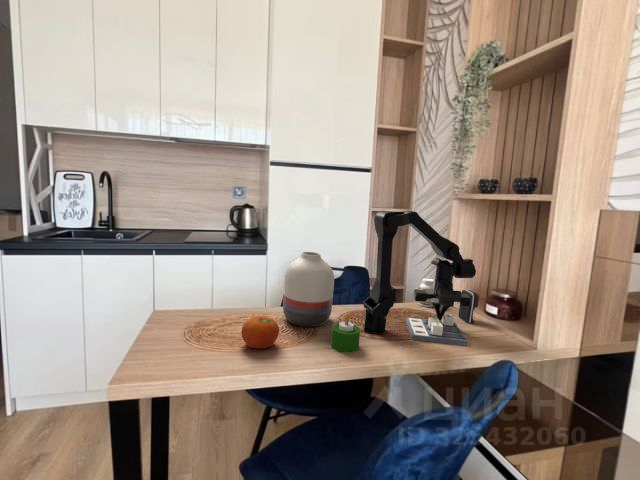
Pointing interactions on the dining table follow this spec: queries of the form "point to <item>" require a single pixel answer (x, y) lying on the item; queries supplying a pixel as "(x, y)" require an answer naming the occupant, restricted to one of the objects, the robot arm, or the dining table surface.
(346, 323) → the candle
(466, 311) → the dark grey upright slab
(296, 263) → the vase
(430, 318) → the tab mid
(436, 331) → the tab near
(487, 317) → the dining table surface
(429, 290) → the pill bottle
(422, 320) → the switch bank
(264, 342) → the fruit
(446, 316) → the tab far
